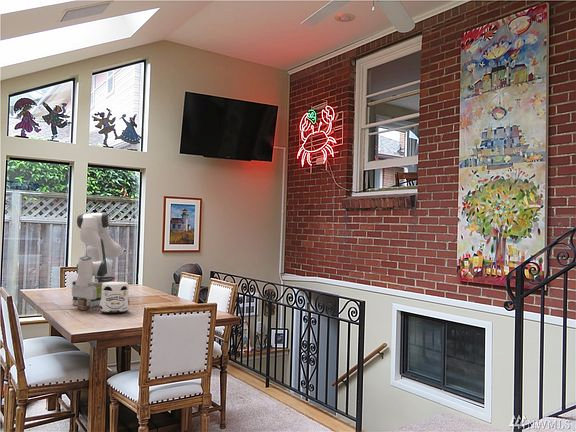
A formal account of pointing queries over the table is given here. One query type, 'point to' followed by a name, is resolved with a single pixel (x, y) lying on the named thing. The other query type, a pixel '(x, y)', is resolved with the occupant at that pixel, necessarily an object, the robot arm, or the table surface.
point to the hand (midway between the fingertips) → (84, 305)
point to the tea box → (95, 301)
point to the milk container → (114, 297)
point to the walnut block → (83, 304)
